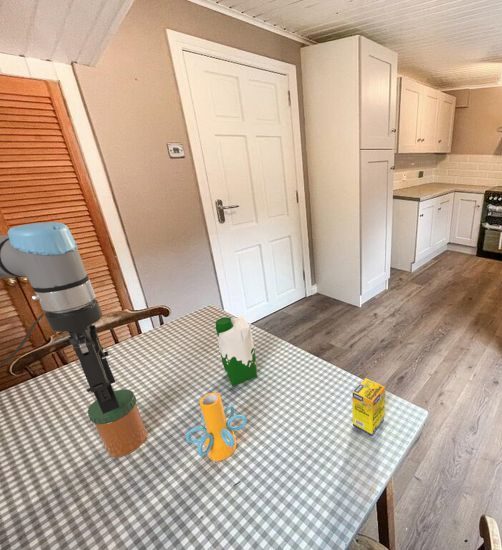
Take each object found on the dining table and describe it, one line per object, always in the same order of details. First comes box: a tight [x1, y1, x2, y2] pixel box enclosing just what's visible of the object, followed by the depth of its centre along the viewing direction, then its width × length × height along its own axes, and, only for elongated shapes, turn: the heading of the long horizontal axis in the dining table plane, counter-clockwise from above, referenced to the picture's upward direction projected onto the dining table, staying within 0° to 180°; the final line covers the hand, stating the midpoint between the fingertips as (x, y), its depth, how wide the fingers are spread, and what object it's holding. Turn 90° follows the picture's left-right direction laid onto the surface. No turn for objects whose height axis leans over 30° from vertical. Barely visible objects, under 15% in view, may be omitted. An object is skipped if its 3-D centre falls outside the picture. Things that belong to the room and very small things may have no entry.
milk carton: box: [214, 315, 258, 387], centre depth 89 cm, size 9×9×20 cm
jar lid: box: [87, 388, 137, 424], centre depth 67 cm, size 8×8×2 cm
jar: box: [93, 404, 148, 458], centre depth 69 cm, size 8×8×12 cm
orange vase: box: [185, 392, 248, 462], centre depth 67 cm, size 12×10×15 cm
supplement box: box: [351, 378, 386, 437], centre depth 74 cm, size 6×6×11 cm
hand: (109, 396), depth 66 cm, fingers open, 9 cm apart
